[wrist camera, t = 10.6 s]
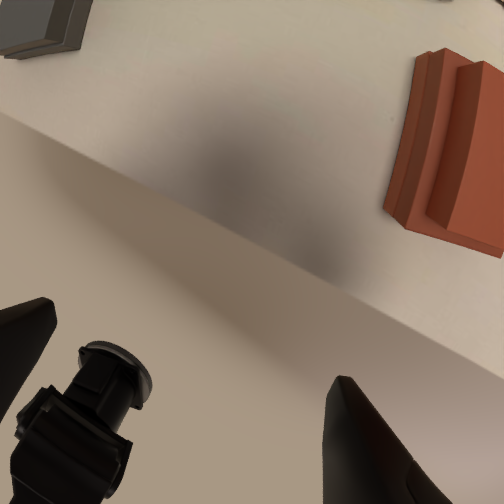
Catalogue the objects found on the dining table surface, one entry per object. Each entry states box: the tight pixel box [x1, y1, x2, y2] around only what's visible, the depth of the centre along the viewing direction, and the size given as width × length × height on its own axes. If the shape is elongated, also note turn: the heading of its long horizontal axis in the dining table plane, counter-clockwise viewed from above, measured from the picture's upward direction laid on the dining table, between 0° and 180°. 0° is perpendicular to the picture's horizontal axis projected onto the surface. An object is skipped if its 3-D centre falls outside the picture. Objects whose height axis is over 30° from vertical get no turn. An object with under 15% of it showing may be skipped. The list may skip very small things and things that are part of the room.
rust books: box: [383, 48, 504, 258], centre depth 14 cm, size 10×8×4 cm
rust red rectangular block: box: [426, 61, 504, 250], centre depth 11 cm, size 8×6×2 cm
